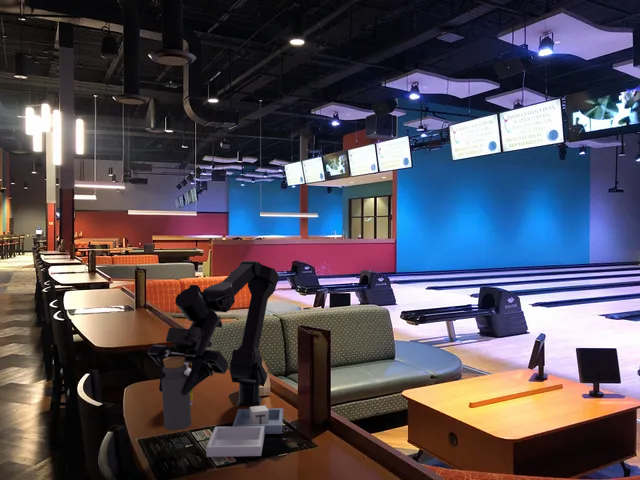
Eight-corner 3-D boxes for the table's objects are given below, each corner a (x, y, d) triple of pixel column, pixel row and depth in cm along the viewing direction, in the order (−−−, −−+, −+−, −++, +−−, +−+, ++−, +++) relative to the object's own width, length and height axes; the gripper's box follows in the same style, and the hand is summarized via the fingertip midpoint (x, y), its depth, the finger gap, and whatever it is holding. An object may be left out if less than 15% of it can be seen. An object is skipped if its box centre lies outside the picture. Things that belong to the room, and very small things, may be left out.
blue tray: (238, 418, 135) (238, 409, 135) (283, 417, 136) (283, 408, 136) (232, 436, 124) (232, 425, 124) (281, 435, 124) (281, 425, 124)
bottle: (184, 431, 112) (180, 361, 112) (159, 430, 113) (155, 361, 113) (195, 421, 118) (192, 355, 118) (171, 421, 119) (168, 355, 119)
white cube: (249, 422, 131) (249, 406, 131) (265, 421, 132) (265, 405, 132) (252, 428, 127) (252, 412, 127) (268, 426, 128) (268, 410, 128)
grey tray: (215, 437, 123) (215, 426, 123) (264, 436, 123) (264, 426, 123) (206, 459, 111) (206, 447, 111) (261, 458, 112) (260, 446, 112)
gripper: (152, 310, 122) (118, 369, 112) (220, 315, 115) (191, 378, 105) (174, 337, 130) (144, 394, 120) (239, 343, 123) (213, 404, 113)
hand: (171, 392), depth 114 cm, fingers closed on bottle, 6 cm apart
